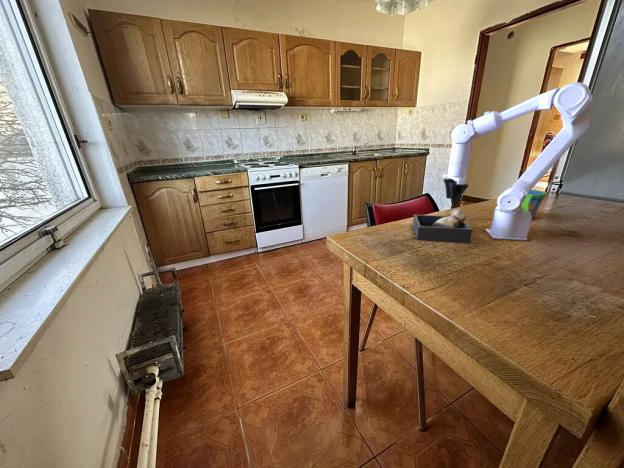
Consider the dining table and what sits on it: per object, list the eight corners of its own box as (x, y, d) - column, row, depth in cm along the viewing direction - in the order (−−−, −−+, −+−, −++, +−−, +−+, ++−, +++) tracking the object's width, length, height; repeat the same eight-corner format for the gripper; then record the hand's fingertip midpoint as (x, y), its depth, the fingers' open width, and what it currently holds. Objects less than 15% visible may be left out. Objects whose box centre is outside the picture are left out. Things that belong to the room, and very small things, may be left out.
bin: (458, 228, 93) (460, 216, 91) (469, 243, 81) (472, 229, 79) (412, 226, 97) (414, 214, 95) (416, 239, 85) (418, 226, 83)
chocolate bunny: (446, 219, 83) (462, 199, 86) (430, 224, 91) (446, 205, 93) (458, 231, 83) (474, 210, 86) (441, 235, 91) (456, 216, 93)
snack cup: (509, 210, 111) (515, 186, 107) (541, 214, 104) (549, 189, 100) (501, 218, 101) (507, 193, 97) (535, 224, 94) (543, 197, 90)
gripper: (441, 160, 96) (436, 195, 101) (450, 164, 83) (444, 205, 88) (462, 160, 94) (456, 196, 99) (475, 164, 81) (467, 206, 86)
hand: (452, 200), depth 93 cm, fingers open, 7 cm apart
